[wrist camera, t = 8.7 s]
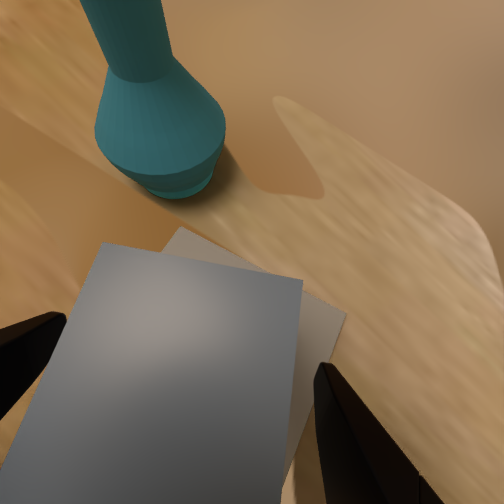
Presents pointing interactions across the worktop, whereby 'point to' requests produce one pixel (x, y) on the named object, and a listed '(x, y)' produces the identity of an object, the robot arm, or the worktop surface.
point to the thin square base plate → (308, 340)
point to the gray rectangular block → (162, 388)
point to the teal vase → (152, 103)
